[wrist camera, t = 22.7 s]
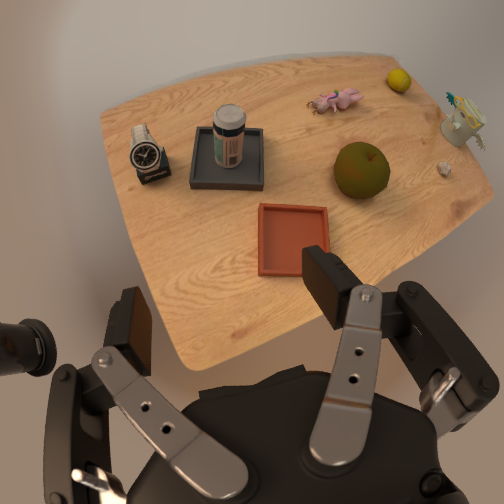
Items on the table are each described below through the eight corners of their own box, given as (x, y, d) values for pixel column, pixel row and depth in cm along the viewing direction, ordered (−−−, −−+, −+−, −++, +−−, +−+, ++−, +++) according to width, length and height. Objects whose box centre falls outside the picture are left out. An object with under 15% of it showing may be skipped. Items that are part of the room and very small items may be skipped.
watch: (144, 194, 44) (124, 160, 33) (137, 158, 45) (120, 122, 35) (174, 183, 45) (161, 147, 34) (165, 149, 46) (153, 110, 36)
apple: (381, 191, 48) (410, 163, 38) (352, 217, 46) (382, 190, 35) (347, 154, 50) (370, 121, 39) (316, 176, 47) (336, 141, 37)
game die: (437, 175, 52) (445, 170, 49) (435, 163, 52) (441, 157, 50) (447, 179, 52) (454, 174, 49) (444, 167, 53) (451, 161, 50)
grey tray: (190, 189, 45) (189, 182, 42) (197, 134, 48) (197, 126, 45) (262, 191, 46) (263, 184, 43) (261, 136, 49) (263, 128, 46)
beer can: (246, 153, 46) (252, 107, 35) (235, 173, 45) (238, 129, 34) (222, 144, 47) (222, 98, 35) (210, 163, 45) (206, 118, 34)
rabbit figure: (316, 124, 52) (367, 107, 53) (320, 108, 47) (374, 91, 47) (301, 105, 54) (351, 89, 54) (303, 88, 48) (357, 74, 48)
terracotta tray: (258, 275, 42) (259, 273, 40) (258, 208, 45) (259, 202, 43) (326, 276, 43) (331, 274, 41) (322, 212, 46) (326, 207, 43)
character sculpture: (420, 107, 58) (442, 79, 45) (440, 109, 60) (462, 84, 47) (456, 166, 54) (486, 141, 41) (474, 162, 55) (501, 141, 42)
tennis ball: (379, 80, 58) (389, 64, 52) (392, 78, 60) (401, 63, 53) (396, 97, 57) (407, 81, 50) (408, 94, 59) (418, 79, 52)
